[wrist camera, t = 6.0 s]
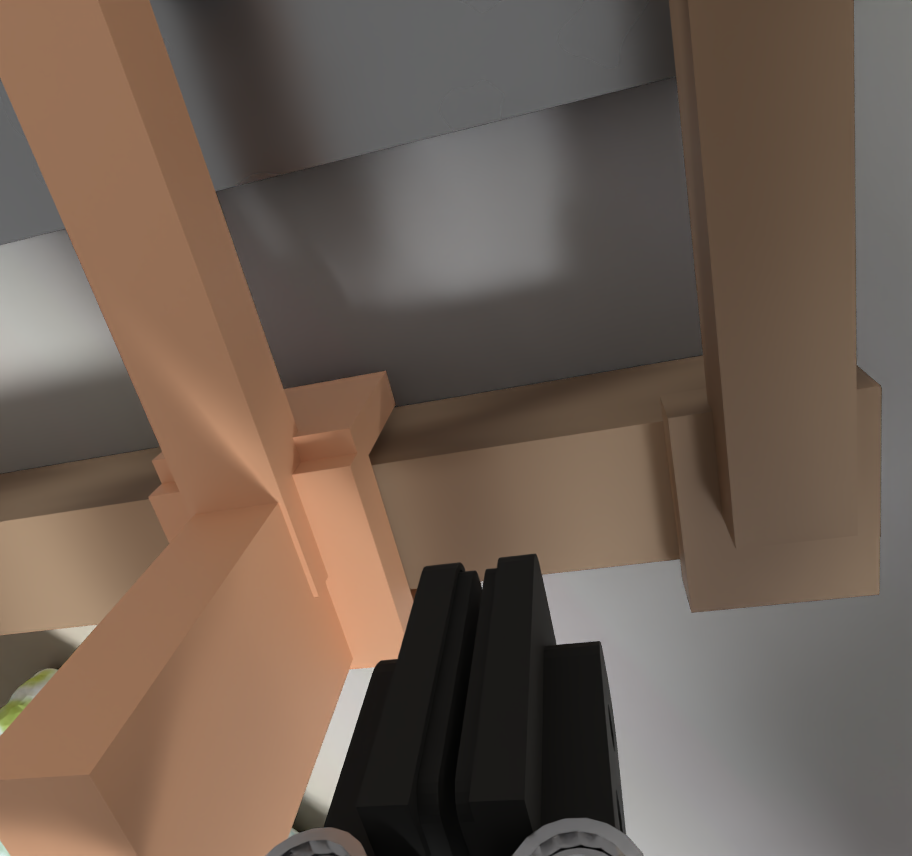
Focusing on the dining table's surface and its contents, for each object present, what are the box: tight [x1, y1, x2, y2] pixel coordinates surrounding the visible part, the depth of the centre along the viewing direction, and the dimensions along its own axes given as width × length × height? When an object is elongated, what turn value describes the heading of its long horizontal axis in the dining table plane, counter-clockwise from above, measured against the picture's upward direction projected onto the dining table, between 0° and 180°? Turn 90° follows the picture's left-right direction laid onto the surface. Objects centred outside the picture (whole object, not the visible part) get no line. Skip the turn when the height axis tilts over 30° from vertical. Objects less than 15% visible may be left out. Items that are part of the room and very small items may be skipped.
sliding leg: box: [0, 0, 417, 856], centre depth 11 cm, size 4×14×10 cm, turn 13°
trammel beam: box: [0, 0, 882, 635], centre depth 14 cm, size 28×14×5 cm, turn 103°
